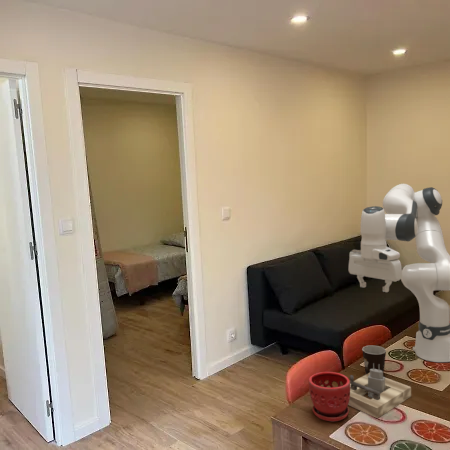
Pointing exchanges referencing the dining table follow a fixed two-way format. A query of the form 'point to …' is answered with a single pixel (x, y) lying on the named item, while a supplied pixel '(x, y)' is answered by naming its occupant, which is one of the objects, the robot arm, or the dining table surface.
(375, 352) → the coffee mug
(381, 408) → the tidy board
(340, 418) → the plant pot
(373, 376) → the power adapter
